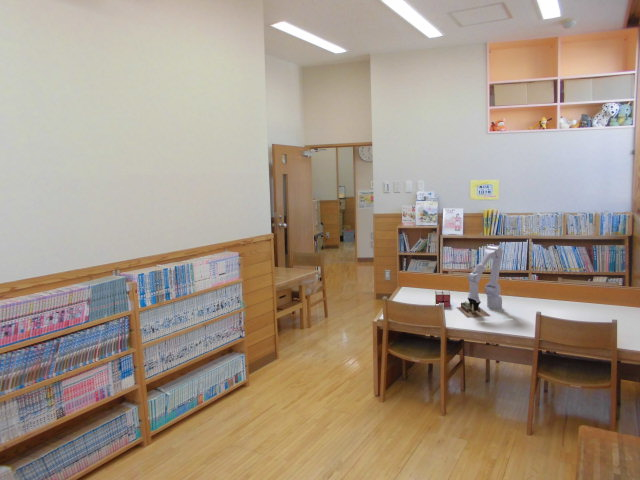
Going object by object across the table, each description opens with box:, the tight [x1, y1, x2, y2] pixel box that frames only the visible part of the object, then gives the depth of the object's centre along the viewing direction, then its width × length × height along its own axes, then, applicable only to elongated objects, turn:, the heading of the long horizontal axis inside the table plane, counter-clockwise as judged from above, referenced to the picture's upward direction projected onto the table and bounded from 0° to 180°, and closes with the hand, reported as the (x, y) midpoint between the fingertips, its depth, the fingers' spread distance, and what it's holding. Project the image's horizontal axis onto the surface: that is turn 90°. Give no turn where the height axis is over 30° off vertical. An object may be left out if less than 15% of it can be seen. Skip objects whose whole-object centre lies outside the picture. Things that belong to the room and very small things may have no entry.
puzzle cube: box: [434, 290, 451, 308], centre depth 339 cm, size 10×10×10 cm
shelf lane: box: [455, 301, 491, 318], centre depth 321 cm, size 16×22×4 cm
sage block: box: [464, 300, 476, 313], centre depth 324 cm, size 5×12×6 cm, turn 3°
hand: (474, 309), depth 319 cm, fingers open, 5 cm apart
